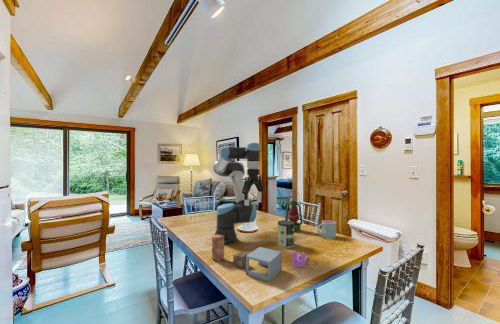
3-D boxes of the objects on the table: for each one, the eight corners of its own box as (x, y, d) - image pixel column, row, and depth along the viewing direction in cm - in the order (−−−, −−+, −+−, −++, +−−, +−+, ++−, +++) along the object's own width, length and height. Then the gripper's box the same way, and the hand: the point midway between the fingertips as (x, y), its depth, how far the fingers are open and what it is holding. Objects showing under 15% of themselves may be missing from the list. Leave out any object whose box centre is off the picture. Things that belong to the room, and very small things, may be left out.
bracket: (303, 267, 110) (303, 253, 110) (292, 265, 113) (292, 251, 113) (308, 257, 122) (308, 244, 122) (297, 255, 124) (298, 243, 124)
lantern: (282, 230, 169) (282, 190, 169) (287, 227, 178) (287, 189, 178) (300, 233, 162) (300, 192, 162) (304, 230, 171) (305, 190, 171)
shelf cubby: (246, 274, 103) (246, 255, 103) (259, 263, 114) (259, 246, 114) (269, 281, 97) (269, 262, 97) (281, 269, 108) (281, 251, 108)
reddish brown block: (211, 259, 119) (211, 236, 119) (217, 256, 123) (217, 234, 123) (241, 268, 109) (241, 243, 109) (247, 264, 113) (247, 240, 113)
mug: (329, 233, 163) (329, 219, 163) (338, 237, 154) (338, 223, 154) (313, 235, 159) (313, 221, 159) (321, 239, 150) (321, 224, 150)
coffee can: (294, 242, 144) (294, 220, 144) (294, 248, 134) (294, 225, 134) (278, 241, 147) (278, 219, 147) (277, 247, 136) (277, 223, 136)
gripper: (246, 169, 124) (246, 207, 124) (268, 168, 145) (268, 201, 145) (235, 168, 128) (235, 206, 128) (259, 168, 149) (258, 200, 149)
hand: (253, 203), depth 136 cm, fingers open, 13 cm apart
